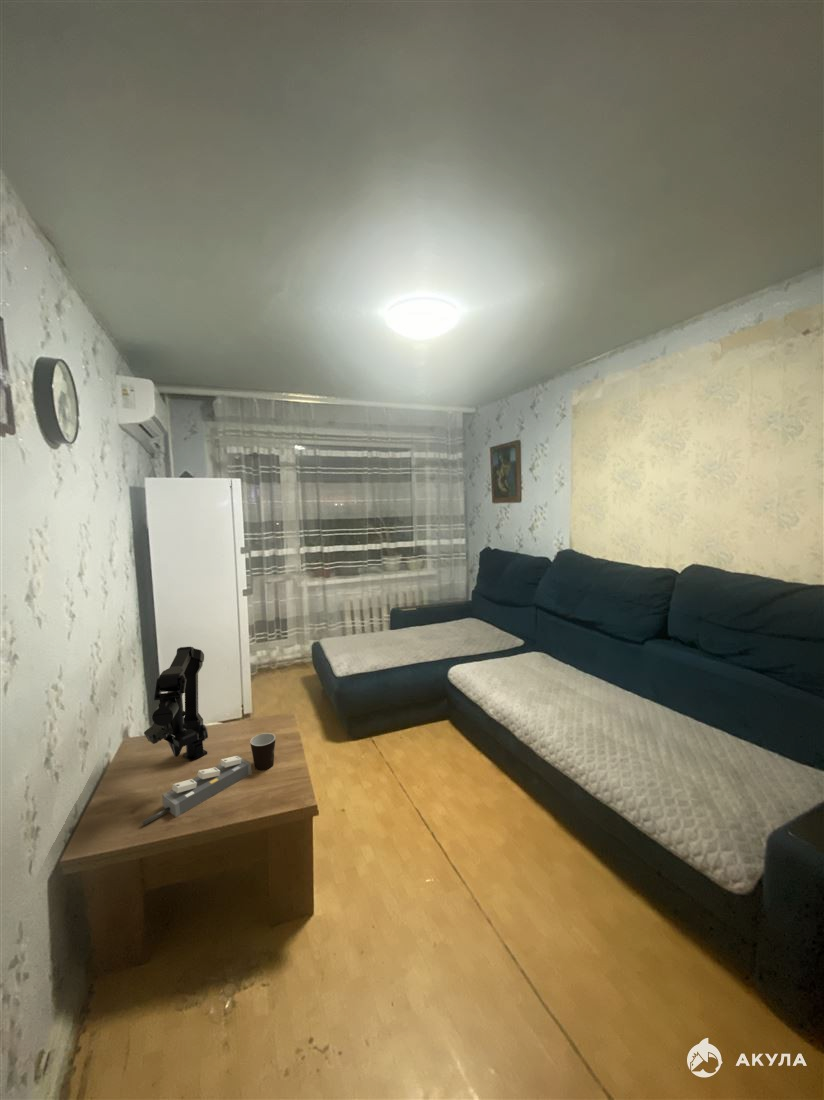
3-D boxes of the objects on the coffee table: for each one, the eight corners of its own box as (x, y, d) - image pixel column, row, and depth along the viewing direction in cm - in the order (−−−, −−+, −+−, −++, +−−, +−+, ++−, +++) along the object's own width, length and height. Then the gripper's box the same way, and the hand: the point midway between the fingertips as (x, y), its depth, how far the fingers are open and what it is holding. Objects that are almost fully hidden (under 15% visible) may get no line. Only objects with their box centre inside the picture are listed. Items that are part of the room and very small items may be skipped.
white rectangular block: (172, 789, 138) (173, 783, 138) (190, 784, 143) (191, 779, 143) (177, 793, 136) (178, 787, 136) (195, 787, 141) (196, 782, 141)
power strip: (136, 820, 132) (135, 807, 132) (237, 766, 159) (237, 755, 159) (149, 832, 127) (148, 819, 127) (251, 773, 154) (250, 762, 154)
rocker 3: (219, 764, 151) (220, 759, 151) (235, 760, 156) (236, 755, 156) (225, 767, 149) (226, 762, 149) (240, 763, 154) (241, 758, 154)
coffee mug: (269, 774, 154) (267, 747, 153) (246, 771, 156) (245, 744, 155) (285, 755, 166) (283, 730, 164) (264, 753, 167) (262, 728, 166)
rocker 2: (197, 775, 144) (198, 770, 144) (213, 772, 149) (215, 767, 149) (202, 779, 142) (203, 774, 143) (219, 775, 147) (220, 770, 147)
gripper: (133, 712, 142) (137, 758, 144) (161, 729, 131) (165, 778, 133) (168, 700, 151) (172, 743, 153) (197, 714, 140) (201, 760, 142)
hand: (176, 756), depth 145 cm, fingers closed
